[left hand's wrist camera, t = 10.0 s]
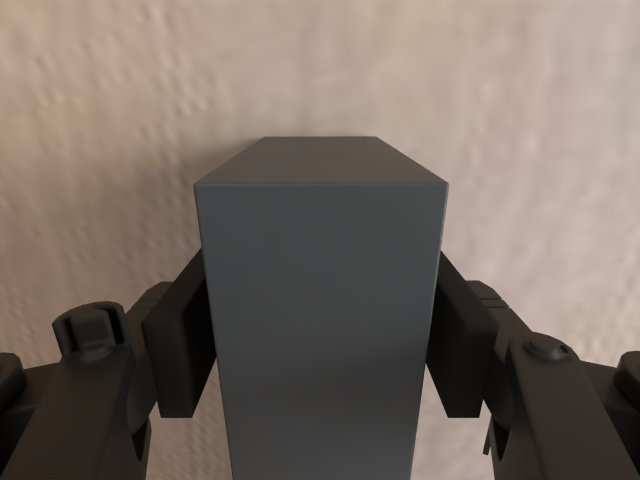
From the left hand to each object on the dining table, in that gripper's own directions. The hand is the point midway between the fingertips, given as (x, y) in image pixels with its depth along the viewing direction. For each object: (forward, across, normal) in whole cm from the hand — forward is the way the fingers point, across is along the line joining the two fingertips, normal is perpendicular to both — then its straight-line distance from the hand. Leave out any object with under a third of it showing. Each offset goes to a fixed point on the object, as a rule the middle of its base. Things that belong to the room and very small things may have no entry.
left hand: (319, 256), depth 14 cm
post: (+2, 0, -22) cm, 22 cm away
